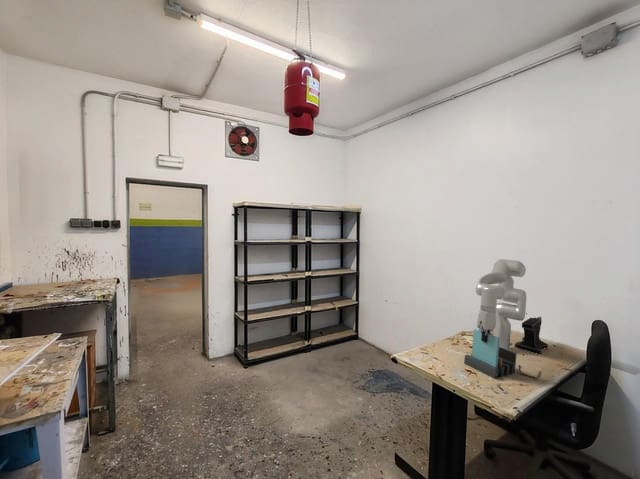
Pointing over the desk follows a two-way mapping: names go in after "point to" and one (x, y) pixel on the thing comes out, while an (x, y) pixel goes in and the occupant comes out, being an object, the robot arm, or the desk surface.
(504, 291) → the robot arm
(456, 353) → the desk surface
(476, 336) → the tall sheet
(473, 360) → the offcut rack
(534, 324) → the anvil
